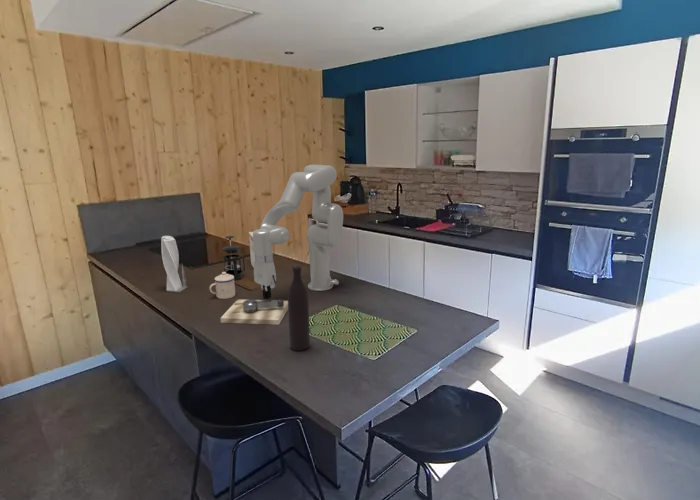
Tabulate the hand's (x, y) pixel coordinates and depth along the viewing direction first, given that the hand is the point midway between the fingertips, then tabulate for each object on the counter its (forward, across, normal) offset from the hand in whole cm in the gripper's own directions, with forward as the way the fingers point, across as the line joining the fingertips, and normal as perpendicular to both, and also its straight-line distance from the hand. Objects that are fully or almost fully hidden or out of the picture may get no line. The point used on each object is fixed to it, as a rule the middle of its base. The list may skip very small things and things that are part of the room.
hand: (267, 298), depth 179 cm
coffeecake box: (+6, -52, +35) cm, 63 cm away
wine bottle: (+4, +36, -15) cm, 40 cm away
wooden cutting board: (+4, +1, -7) cm, 8 cm away
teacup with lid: (+5, -27, -5) cm, 28 cm away
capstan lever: (+1, +3, -7) cm, 8 cm away
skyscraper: (+4, -53, -14) cm, 55 cm away
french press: (+5, -45, +14) cm, 48 cm away
